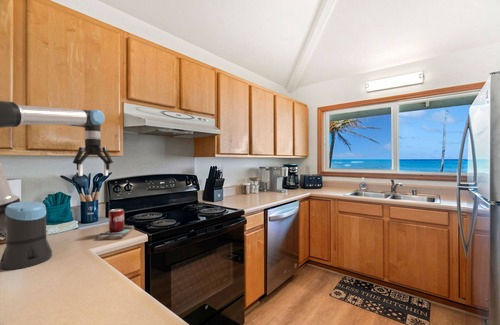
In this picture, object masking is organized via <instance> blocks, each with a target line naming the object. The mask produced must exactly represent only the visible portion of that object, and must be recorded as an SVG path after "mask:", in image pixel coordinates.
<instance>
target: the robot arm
mask: <svg viewBox="0 0 500 325" xmlns="http://www.w3.org/2000/svg"><path fill="white" fill-rule="evenodd" d="M105 120H106V118H105V114H104V112H103V111H101V110H99V109H79V108H63V107H52V106H50V107H48V106H38V105H36V106H35V105H21V104H20V105H19V104H18V103H17V102H15V101H8V100H7V101H5V100H0V129H3V128H18V127H20V126H22V125H24V126H25V125H31V126H32V125H35V126H36V125H40V126H41V125H42V126H43V125H45V126H46V125H47V126H48V125H49V126H50V125H51V126H52V125H53V126H59V125H60V126H63V125H64V126H68V127H76V128H84V138H85V139H84V146H85V147H83V146H79V147H78V151H77V153H76V155H75V156H74V159H73V161H72V163H73V164H75V165H76V170H77V174H78V177H83V176H84V171H83V164H82V163H83V162H84V161H85V160H86V159H87V158H88V157H89V156H98V157H99V158H100V160H102V161H103V164H104V166H103V172H104V173H103V174H104V177H105V176H106V177H107V176H109V170H110V165H111V164H113V163H114V161H113V159H112V157H111V156H110V153H109V152H108V149H107V148H108V147H106V146H105V147H104V146H103V147H101V146H102V145H101V142H102V141H101V137H102V136H101V134H102V133H101V132H102V131H101V125H103V124H104V123H105ZM101 151H102V152H101ZM103 154H104V155H103ZM46 207H47V206H46V204H44V203H43V202H41V201H30V200H29V201H27V200H25V201H22V200H21V199H20V196H19V195H17V194H13V192H12V188H11V186H10V184H9V182H8V178H7V176H6V172H5V170H4V168H3V165H2V162H1V161H0V233H1V234H5V241H6V242H5V248H4V251H3V253H2V254H1V259H0V269H1V270H6V271H10V270H11V271H12V270H19V269H24V268H28V267H32V266H36V265H39V264H43V263H44V262H46V261H48V260H49V259H51V258H52V257H53V250H52V248H51V245H50V243H49V241H48V239H47V208H46Z"/></svg>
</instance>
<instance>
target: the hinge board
mask: <svg viewBox="0 0 500 325" xmlns="http://www.w3.org/2000/svg"><path fill="white" fill-rule="evenodd" d="M134 229H135V226H134V225H124V231H123V232H116V233H109V230H107V231H106V232H101V233H99V235H98V236H97V237H96V241H107V240H109V241H111V240H122V239H124V238H125V237H126V236H127V235H129V234H130V233H131V232H132V231H134Z"/></svg>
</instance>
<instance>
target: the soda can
mask: <svg viewBox="0 0 500 325" xmlns="http://www.w3.org/2000/svg"><path fill="white" fill-rule="evenodd" d="M124 226H125V210H124V209H123V208H115V209H109V211H108V231H109V233H116V232H123V231H124Z"/></svg>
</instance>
